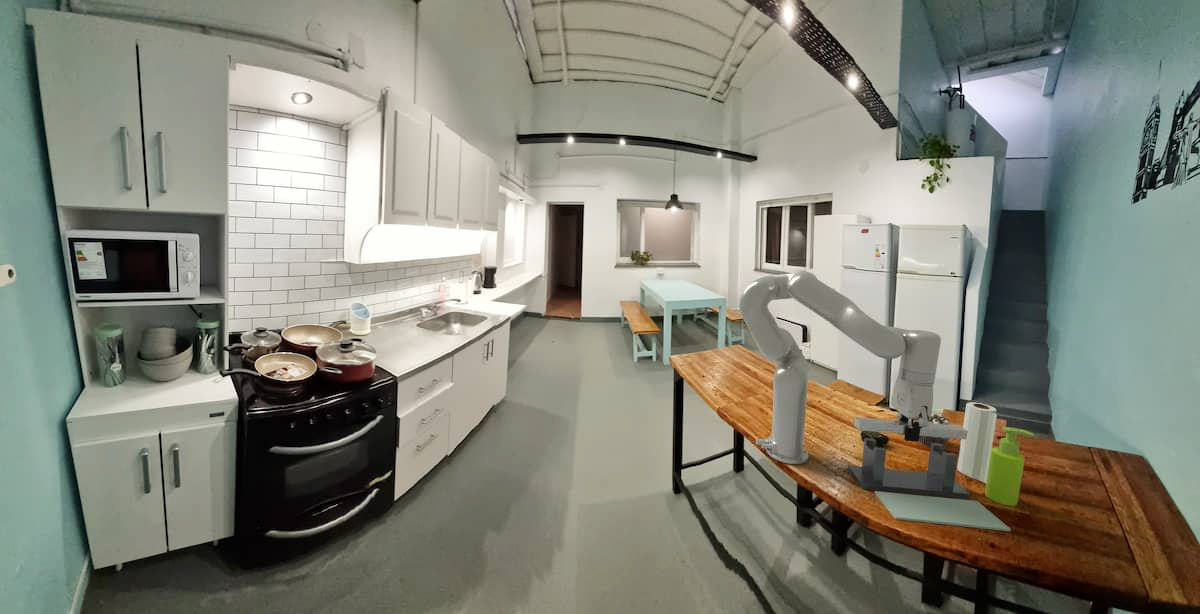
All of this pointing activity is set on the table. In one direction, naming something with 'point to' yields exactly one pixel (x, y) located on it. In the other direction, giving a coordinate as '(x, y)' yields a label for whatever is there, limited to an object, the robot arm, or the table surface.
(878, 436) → the tape measure
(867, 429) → the rail
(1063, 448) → the table surface
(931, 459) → the rack
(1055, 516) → the table surface
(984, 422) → the paper towel roll
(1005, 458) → the soap dispenser
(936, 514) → the mat
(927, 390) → the robot arm
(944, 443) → the cupcake
